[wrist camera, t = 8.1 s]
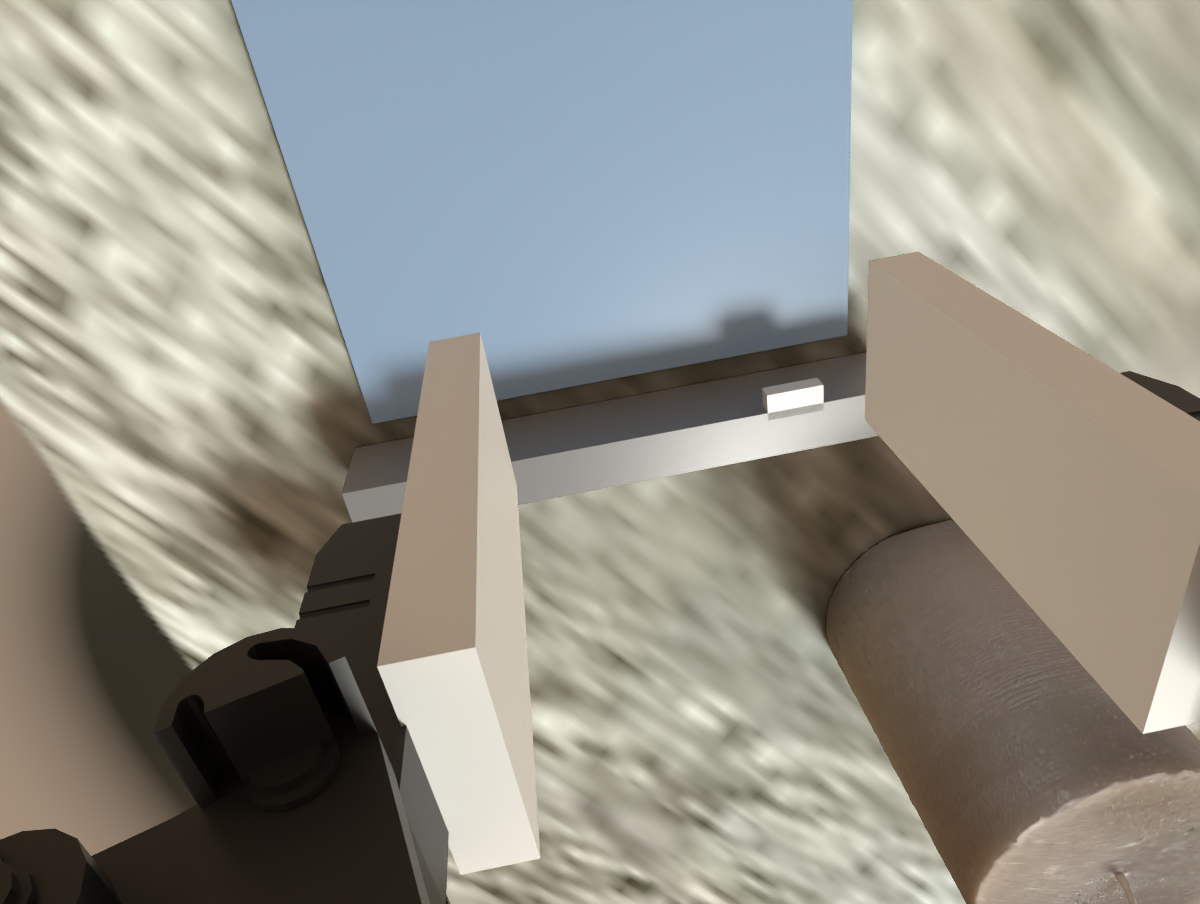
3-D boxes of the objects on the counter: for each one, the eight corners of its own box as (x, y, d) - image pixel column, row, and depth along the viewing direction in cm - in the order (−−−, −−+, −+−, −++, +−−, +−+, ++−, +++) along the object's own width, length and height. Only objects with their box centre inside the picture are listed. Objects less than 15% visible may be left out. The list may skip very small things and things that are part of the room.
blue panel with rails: (136, -172, 21) (82, -197, 18) (888, -294, 21) (948, -336, 19) (368, 487, 31) (357, 535, 28) (867, 392, 32) (904, 431, 29)
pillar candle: (929, 695, 41) (1129, 1014, 29) (781, 639, 38) (932, 971, 25) (1063, 558, 38) (1362, 853, 25) (913, 482, 34) (1169, 778, 22)
